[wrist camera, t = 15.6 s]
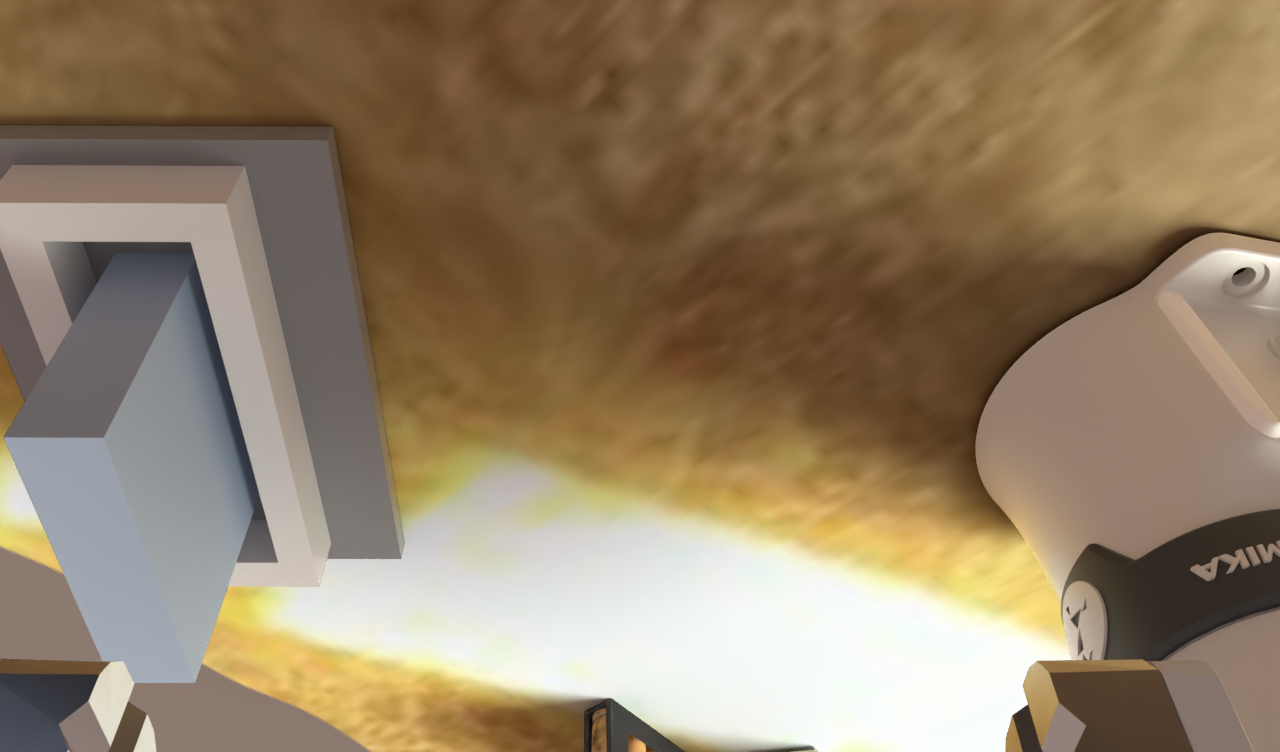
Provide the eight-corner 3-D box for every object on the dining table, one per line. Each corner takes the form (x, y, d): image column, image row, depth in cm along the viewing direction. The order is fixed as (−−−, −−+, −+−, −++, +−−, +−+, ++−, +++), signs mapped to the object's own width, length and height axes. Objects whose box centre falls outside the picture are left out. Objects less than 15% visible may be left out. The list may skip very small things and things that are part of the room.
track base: (333, 126, 42) (311, 177, 39) (404, 542, 55) (392, 601, 52) (-72, 124, 42) (-122, 175, 39) (97, 541, 55) (69, 600, 52)
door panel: (197, 253, 44) (103, 437, 36) (261, 488, 51) (194, 682, 44) (115, 253, 44) (3, 437, 36) (191, 488, 51) (111, 682, 44)
